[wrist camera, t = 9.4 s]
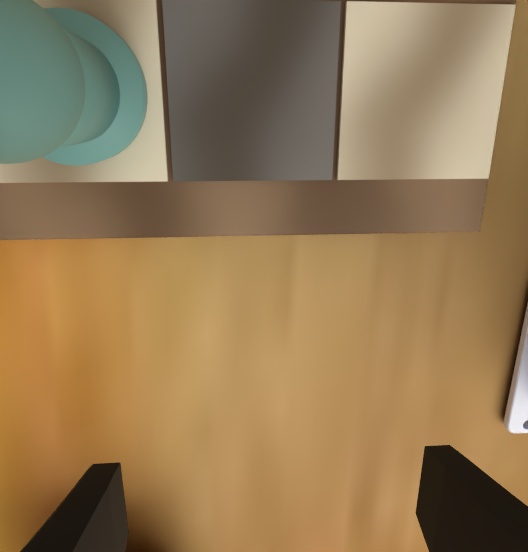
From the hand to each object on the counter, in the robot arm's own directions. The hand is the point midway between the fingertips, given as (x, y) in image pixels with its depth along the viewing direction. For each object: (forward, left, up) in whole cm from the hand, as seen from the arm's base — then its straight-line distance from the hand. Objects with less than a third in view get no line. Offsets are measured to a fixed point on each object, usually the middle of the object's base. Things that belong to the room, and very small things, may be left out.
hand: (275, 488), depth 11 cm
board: (+3, -9, -9) cm, 13 cm away
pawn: (+6, -9, -8) cm, 14 cm away
